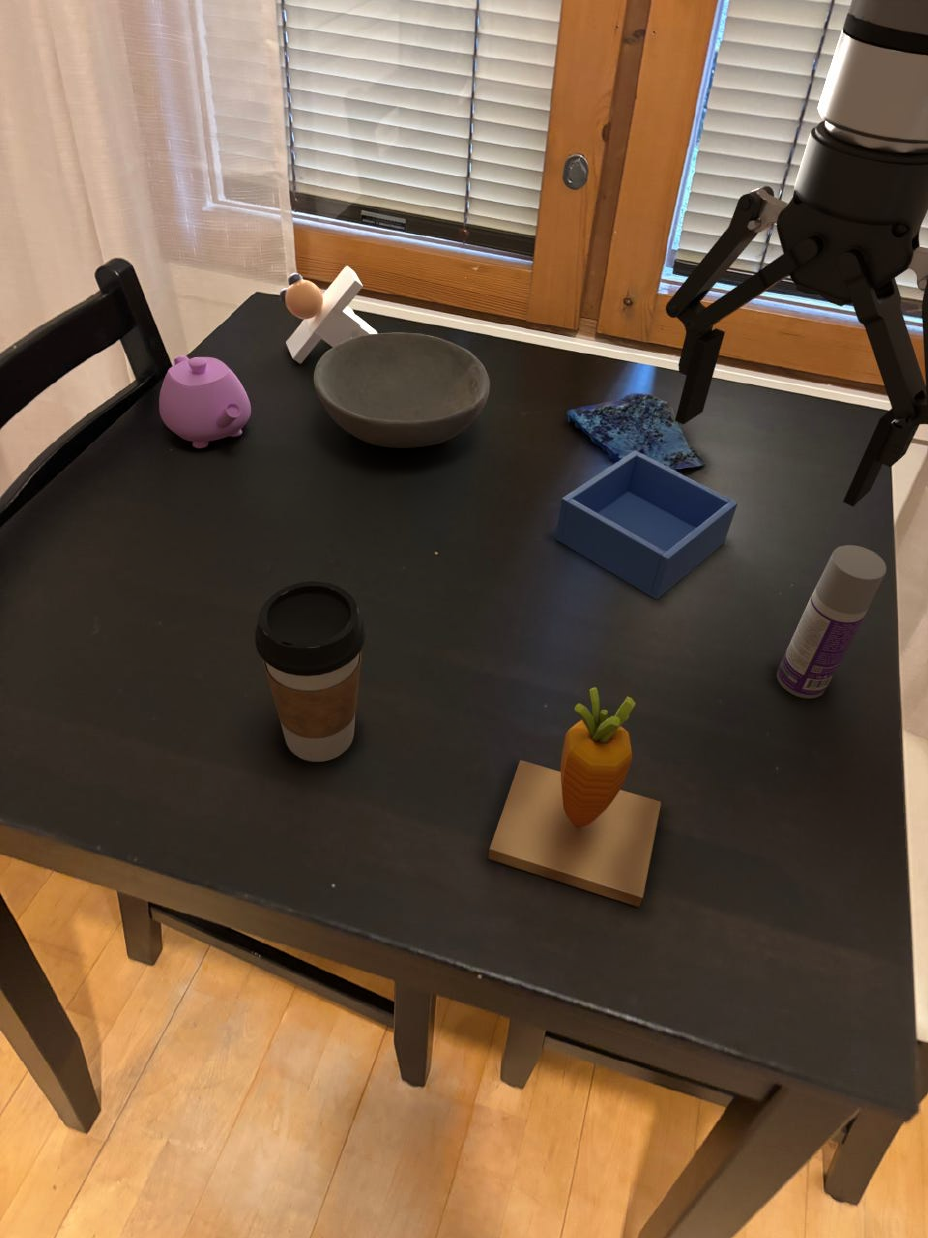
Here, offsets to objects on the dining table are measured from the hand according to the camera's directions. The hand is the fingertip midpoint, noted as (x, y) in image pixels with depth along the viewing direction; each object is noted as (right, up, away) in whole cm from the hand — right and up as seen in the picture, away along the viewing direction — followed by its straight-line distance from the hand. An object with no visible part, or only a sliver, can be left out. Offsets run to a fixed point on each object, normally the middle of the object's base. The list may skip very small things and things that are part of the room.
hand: (768, 454), depth 64 cm
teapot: (-53, +11, +45) cm, 71 cm away
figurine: (-40, +26, +62) cm, 78 cm away
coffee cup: (-35, -22, +13) cm, 43 cm away
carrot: (-13, -28, +6) cm, 32 cm away
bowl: (-30, +12, +48) cm, 58 cm away
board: (-13, -29, +7) cm, 33 cm away
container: (+10, -18, +21) cm, 30 cm away
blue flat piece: (0, +11, +50) cm, 51 cm away
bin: (-2, -3, +35) cm, 35 cm away
